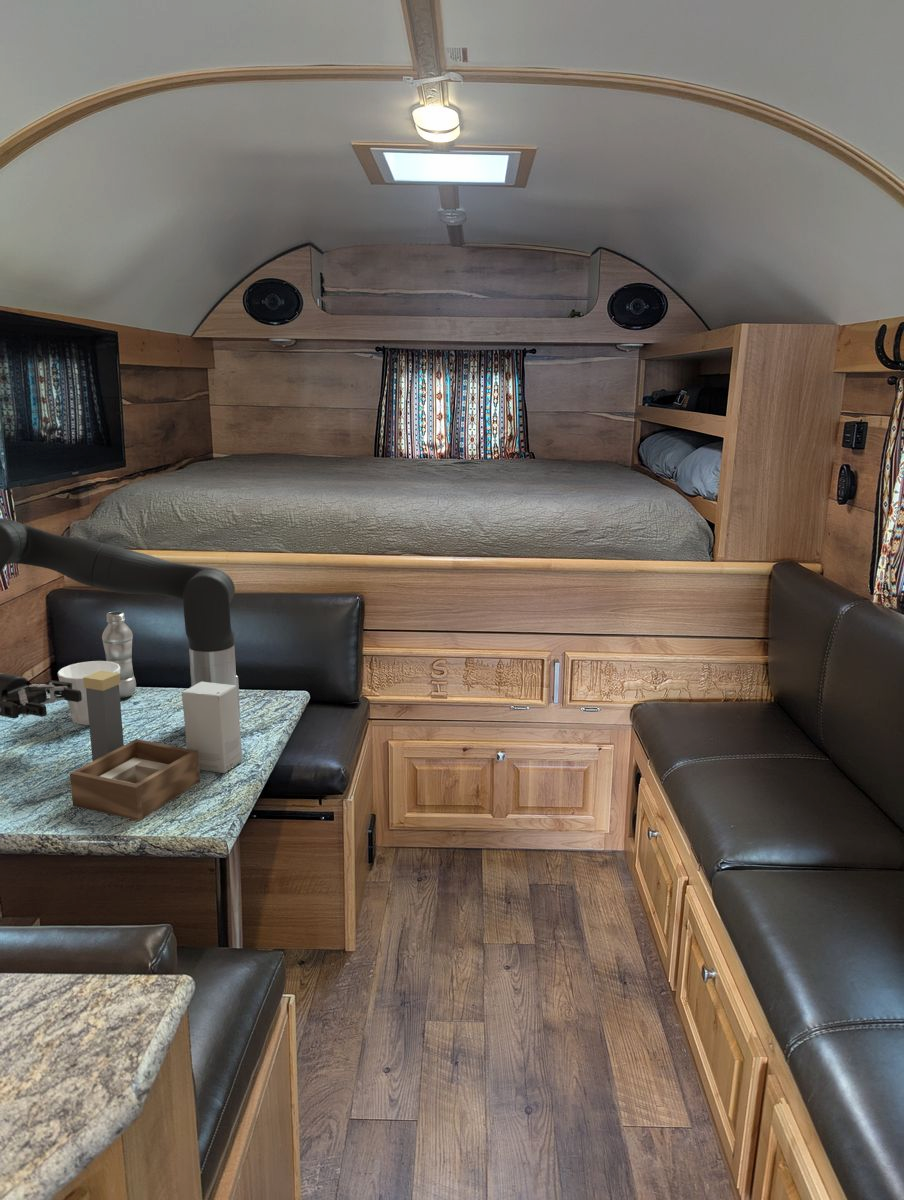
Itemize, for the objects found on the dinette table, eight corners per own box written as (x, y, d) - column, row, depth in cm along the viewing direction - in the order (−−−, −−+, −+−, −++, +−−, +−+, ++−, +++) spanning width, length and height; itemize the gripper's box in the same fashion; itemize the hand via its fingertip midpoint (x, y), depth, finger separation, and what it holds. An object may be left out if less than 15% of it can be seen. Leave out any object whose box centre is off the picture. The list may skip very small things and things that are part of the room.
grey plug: (108, 759, 161) (101, 670, 157) (126, 763, 160) (119, 673, 156) (91, 768, 157) (83, 677, 153) (109, 772, 156) (102, 680, 152)
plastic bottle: (105, 693, 197) (98, 611, 192) (136, 690, 200) (130, 609, 195) (106, 702, 191) (99, 618, 187) (138, 699, 194) (131, 615, 189)
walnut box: (138, 769, 157) (136, 739, 156) (200, 781, 152) (198, 751, 151) (72, 805, 143) (69, 773, 141) (138, 821, 138) (136, 787, 136)
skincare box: (243, 761, 161) (239, 684, 158) (223, 775, 155) (219, 696, 152) (206, 755, 164) (202, 679, 160) (185, 768, 158) (180, 690, 154)
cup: (53, 716, 182) (49, 668, 180) (111, 703, 191) (107, 657, 188) (73, 733, 174) (68, 682, 171) (133, 719, 182) (129, 670, 179)
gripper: (-35, 685, 158) (30, 696, 152) (27, 664, 171) (89, 673, 165) (-30, 722, 159) (34, 735, 154) (31, 698, 172) (92, 709, 167)
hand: (63, 703), depth 159 cm, fingers open, 8 cm apart
